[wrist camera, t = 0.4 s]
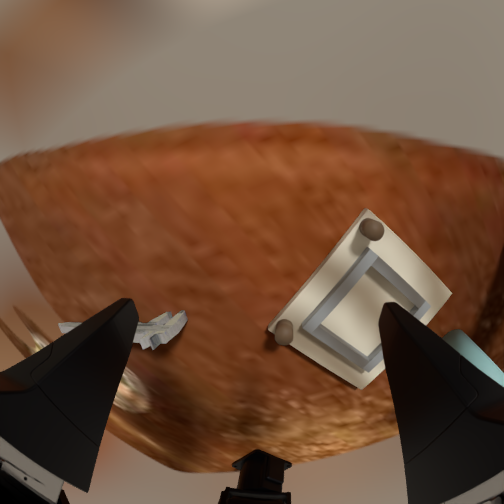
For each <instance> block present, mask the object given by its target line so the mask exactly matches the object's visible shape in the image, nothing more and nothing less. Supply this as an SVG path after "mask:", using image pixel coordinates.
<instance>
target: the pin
mask: <svg viewBox="0 0 504 504" xmlns="http://www.w3.org/2000/svg"><path fill="white" fill-rule="evenodd" d="M442 339H443V340H444V341H446V342H447V343H448V344H449V345H450V346H452V347H453V348H454V349H455V350H456V351H458V352H459V353H460V355H463V356H464V357H465V358H466V359H467V360H468V361H470V362H471V363H472V364H473V365H475V366H476V367H477V368H478V369H480V370H481V371H482V372H484V373H485V374H486V375H488V376H489V377H490V378H492V379H493V380H495V381H496V382H497V383H499V384H500V385H502V386H503V387H504V373H503V372H502V371H501V370H500V369H499V368H498V367H497V366H496V365H495V364H494V362H493V361H492V360H491V359H490V358H489V357H488V356H487V355H486V354H485V353H484V352H483V351H482V350H481V349H480V348H479V347H478V346H477V345H476V344H475V343H474V342H473V341H472V340H471V339H470V338H469V337H468V336H467V335H466V334H465V333H464V332H463V331H462V330H459V329H455V330H452V331H450V332H448V333H447V334H446V335H445V336H444V337H443V338H442Z"/></svg>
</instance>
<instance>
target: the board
mask: <svg viewBox="0 0 504 504" xmlns="http://www.w3.org/2000/svg"><path fill="white" fill-rule="evenodd" d="M451 294H452V293H451V292H450V290H449V289H448V288H447V287H446V286H445V285H444V284H443V283H442V281H441V280H440V279H439V278H438V277H437V276H436V275H435V274H434V273H433V272H432V271H431V270H430V268H429V267H428V266H427V265H426V264H425V263H424V262H423V261H422V260H421V259H420V258H419V257H418V256H417V255H416V254H415V253H414V252H413V251H412V250H411V249H410V248H409V247H408V246H407V245H406V244H405V243H404V242H403V241H402V240H401V239H400V238H399V237H398V236H397V235H396V234H395V233H394V232H393V231H392V230H391V229H389V228H388V227H387V226H386V225H385V224H384V223H383V222H382V221H381V220H380V219H379V218H378V217H376V216H375V215H374V214H373V213H372V212H371V211H370V210H369V209H366V208H364V210H363V211H362V212H361V214H360V215H359V216H358V218H357V219H356V220H355V221H354V223H353V224H352V225H351V227H350V228H349V229H348V231H347V232H346V233H345V234H344V236H343V237H342V238H341V239H340V241H339V242H338V243H337V244H336V246H335V247H334V248H333V249H332V251H331V252H330V253H329V254H328V256H327V257H326V258H325V259H324V261H323V262H322V263H321V264H320V265H319V267H318V268H317V269H316V270H315V272H314V273H313V274H312V275H311V276H310V278H309V279H308V280H307V281H306V282H305V283H304V285H303V286H302V287H301V288H300V289H299V291H298V292H297V293H296V294H295V295H294V296H293V297H292V299H291V300H290V301H289V302H288V303H287V304H286V306H285V307H284V308H283V309H282V310H281V311H280V312H279V314H278V315H277V316H276V317H275V318H274V319H273V320H272V321H271V322H270V324H269V325H268V330H269V331H270V332H272V333H273V334H275V341H276V342H277V343H278V344H280V345H288V344H290V345H291V346H293V347H294V348H296V349H297V350H299V351H300V352H302V353H303V354H305V355H306V356H308V357H310V358H311V359H313V360H314V361H316V362H317V363H319V364H320V365H322V366H324V367H325V368H327V369H328V370H330V371H332V372H333V373H335V374H336V375H338V376H340V377H341V378H343V379H345V380H346V381H348V382H349V383H351V384H353V385H354V386H356V387H358V388H359V389H361V390H362V389H363V388H364V387H365V386H367V385H368V384H369V383H370V382H371V381H372V380H373V379H374V378H375V377H377V376H378V375H379V374H380V373H381V372H382V371H383V370H384V369H385V364H384V359H383V352H382V346H381V339H380V333H379V327H378V321H379V317H380V314H381V311H382V307H383V304H384V303H385V302H396V303H398V304H399V305H400V306H401V307H403V308H404V309H405V310H407V311H408V312H409V313H410V314H412V315H413V316H414V317H416V318H417V319H418V320H419V321H421V322H422V323H423V324H424V325H427V324H428V323H429V321H430V320H431V319H432V318H433V317H434V316H435V314H436V313H437V312H438V311H439V309H440V308H441V307H442V306H443V304H444V303H445V302H446V301H447V299H448V298H449V297H450V295H451Z"/></svg>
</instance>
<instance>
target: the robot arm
mask: <svg viewBox="0 0 504 504" xmlns="http://www.w3.org/2000/svg"><path fill="white" fill-rule="evenodd" d="M138 322H139V316H138V313H137V310H136V307H135V304H134V301H133V300H132V299H130V298H121V299H119V300H118V301H116V302H115V303H113V304H111V305H110V306H108V307H107V308H105V309H103V310H102V311H100V312H99V313H97V314H95V315H94V316H92V317H91V318H89V319H88V320H86V321H84V322H83V323H81V324H80V325H78V326H77V327H75V328H74V329H72V330H70V331H69V332H67V333H66V334H64V335H63V336H61V337H60V338H58V339H57V340H55V341H54V342H52V343H50V344H49V345H47V346H46V347H44V348H43V349H41V350H40V351H38V352H36V353H35V354H33V355H31V356H30V357H28V358H26V359H24V360H23V361H21V362H19V363H17V364H16V365H14V366H12V367H10V368H8V369H7V370H5V371H2V372H0V504H70V503H69V501H68V499H67V497H66V495H65V492H64V490H62V486H63V483H64V481H65V482H67V483H69V484H70V485H72V486H74V487H76V488H78V489H80V490H82V491H84V492H86V493H88V491H89V487H90V483H91V478H92V475H93V471H94V467H95V463H96V459H97V455H98V451H99V447H100V443H101V440H102V437H103V433H104V430H105V426H106V423H107V420H108V417H109V413H110V410H111V407H112V404H113V401H114V398H115V395H116V392H117V389H118V386H119V383H120V380H121V378H122V375H123V372H124V369H125V366H126V364H127V361H128V358H129V355H130V352H131V348H132V344H133V340H134V336H135V333H136V329H137V325H138ZM378 327H379V333H380V339H381V346H382V352H383V359H384V364H385V369H386V373H387V377H388V381H389V385H390V390H391V394H392V399H393V403H394V408H395V413H396V418H397V423H398V428H399V434H400V440H401V446H402V453H403V459H404V468H405V475H406V484H407V495H408V504H443V503H444V504H504V387H503V386H502V385H500V384H499V383H497V382H496V381H495V380H493V379H492V378H490V377H489V376H488V375H486V374H485V373H484V372H482V371H481V370H480V369H478V368H477V367H476V366H475V365H473V364H472V363H471V362H470V361H468V360H467V359H466V358H465V357H464V356H463V355H460V353H459V352H458V351H456V350H455V349H454V348H453V347H452V346H450V345H449V344H448V343H447V342H446V341H444V340H443V339H442V338H441V337H439V336H438V335H437V334H436V333H434V332H433V331H432V330H431V329H430V328H428V327H427V326H426V325H424V324H423V323H422V322H421V321H419V320H418V319H417V318H416V317H414V316H413V315H412V314H410V313H409V312H408V311H407V310H405V309H404V308H403V307H401V306H400V305H399V304H398V303H396V302H385V303H384V304H383V307H382V311H381V314H380V317H379V321H378ZM232 467H234V468H236V469H239V470H240V476H239V481H238V485H237V489H234V488H230V487H226V489H225V491H222V492H221V496H220V499H219V502H218V504H291V493H290V492H287V493H284V492H282V483H283V482H284V470H286V469H288V468H290V467H292V463H290V462H287V461H285V460H282V459H280V458H277V457H275V456H273V455H270V454H268V453H266V452H263V451H261V450H255V451H253V452H251V453H250V454H248V455H246V456H245V457H243V458H241V459H240V460H238V461H236V462H234V463H233V464H232Z"/></svg>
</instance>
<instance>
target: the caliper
mask: <svg viewBox="0 0 504 504" xmlns="http://www.w3.org/2000/svg"><path fill="white" fill-rule="evenodd" d="M187 320H188V319H187V316H186V313H185V311H184V310H181V311H180V312H179V313H178V314H176V315H175V316H174V317H172V314H171V312H166V313H164V314H162V315H160V316H158V317H157V318H155V319H153V320H151V321H149V322H148V323H142V322H138V325H137V329H136V333H135V336H134V340H133V342H135V343H140V344H141V346H142V349H145V348H147V347H149V346H151V348H152V350H154V349H155V348H156V347H157V346H158V345H160V344H166V343H167V342H168V341H170V340H171V339H172V338H173V337H174V336H175V335H177V334H178V333H179V332H180V330H181V329H182V327H183V326H184V325H185V323H186V322H187ZM80 324H81V323H78V322H66V323H58V325H59V328H60V330H61V332H62V333H67V332H69V331H70V330H72V329H74V328H75V327H77V326H78V325H80Z"/></svg>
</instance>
